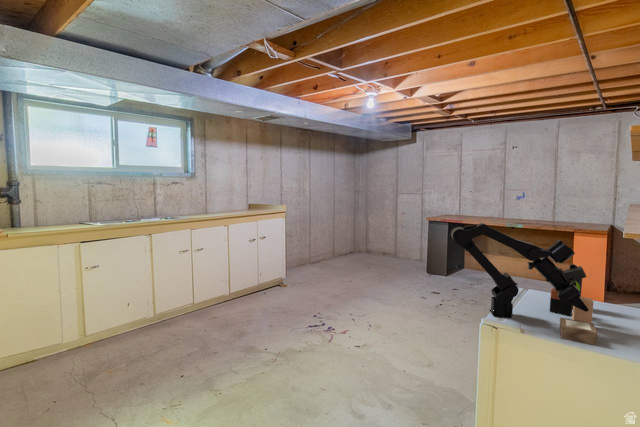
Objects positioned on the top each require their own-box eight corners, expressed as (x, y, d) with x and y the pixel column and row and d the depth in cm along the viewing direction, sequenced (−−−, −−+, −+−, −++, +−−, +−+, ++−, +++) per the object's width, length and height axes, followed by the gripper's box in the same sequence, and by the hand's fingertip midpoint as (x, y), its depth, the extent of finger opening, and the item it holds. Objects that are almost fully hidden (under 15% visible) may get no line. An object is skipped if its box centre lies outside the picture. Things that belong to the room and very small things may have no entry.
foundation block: (561, 338, 112) (562, 326, 112) (559, 328, 120) (560, 317, 120) (596, 345, 108) (597, 332, 107) (592, 334, 115) (593, 323, 115)
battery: (570, 316, 131) (572, 290, 130) (549, 311, 136) (551, 287, 135) (572, 313, 135) (574, 288, 134) (551, 309, 139) (553, 284, 138)
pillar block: (573, 327, 122) (575, 299, 121) (571, 322, 126) (573, 295, 125) (591, 330, 119) (593, 302, 118) (589, 325, 123) (591, 298, 122)
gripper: (573, 263, 115) (613, 301, 110) (568, 253, 131) (603, 287, 126) (543, 282, 120) (580, 320, 115) (542, 271, 135) (575, 304, 131)
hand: (585, 306), depth 121 cm, fingers open, 9 cm apart
